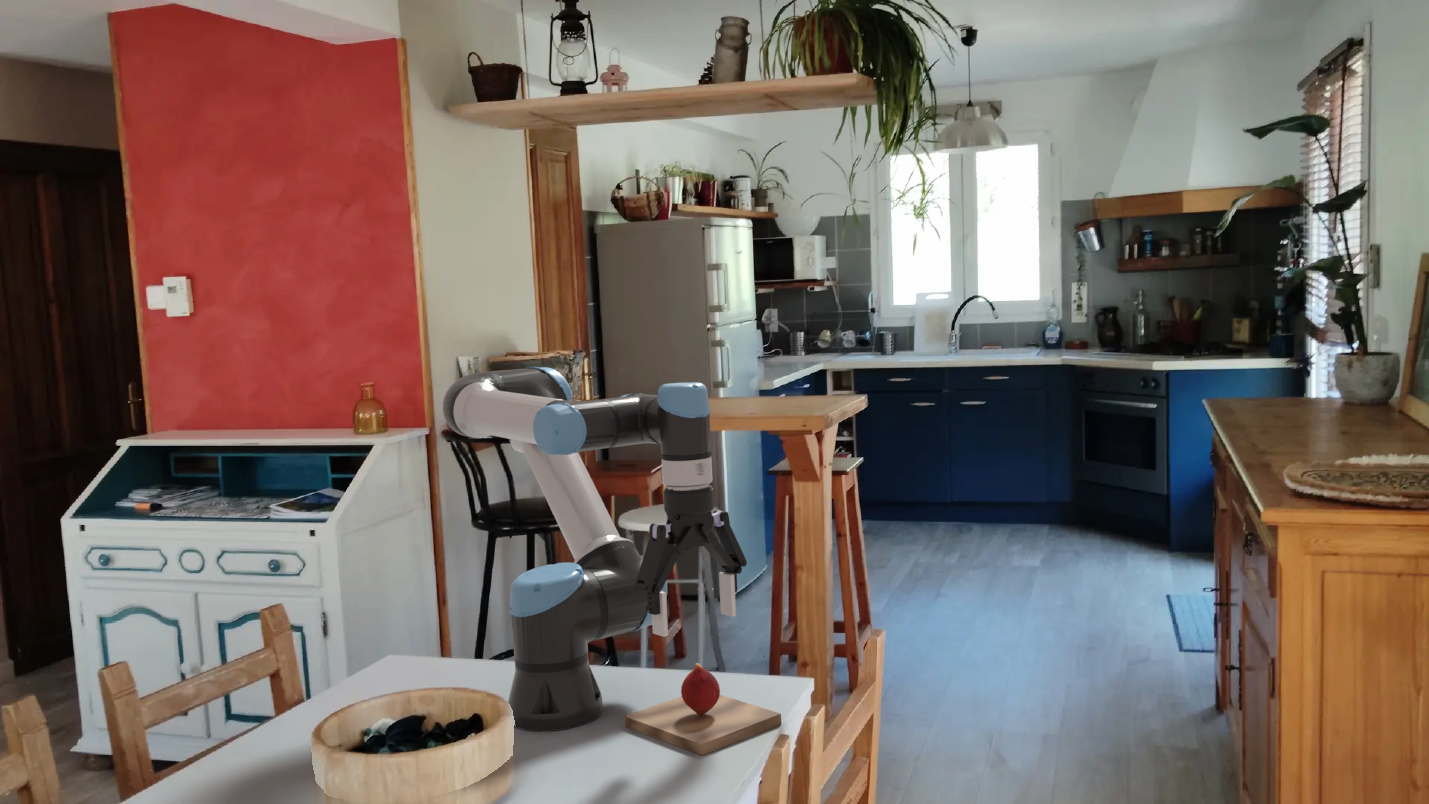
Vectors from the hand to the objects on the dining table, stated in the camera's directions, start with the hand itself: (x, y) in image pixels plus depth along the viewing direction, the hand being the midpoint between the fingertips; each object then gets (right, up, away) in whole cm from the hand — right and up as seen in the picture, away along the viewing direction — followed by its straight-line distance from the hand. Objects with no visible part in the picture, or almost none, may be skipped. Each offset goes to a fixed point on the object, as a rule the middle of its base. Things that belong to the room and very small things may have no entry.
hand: (695, 624), depth 176 cm
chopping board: (+1, -16, +1) cm, 16 cm away
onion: (+1, -14, +1) cm, 14 cm away
